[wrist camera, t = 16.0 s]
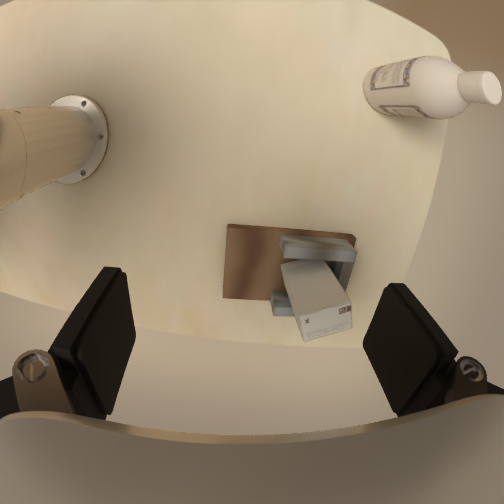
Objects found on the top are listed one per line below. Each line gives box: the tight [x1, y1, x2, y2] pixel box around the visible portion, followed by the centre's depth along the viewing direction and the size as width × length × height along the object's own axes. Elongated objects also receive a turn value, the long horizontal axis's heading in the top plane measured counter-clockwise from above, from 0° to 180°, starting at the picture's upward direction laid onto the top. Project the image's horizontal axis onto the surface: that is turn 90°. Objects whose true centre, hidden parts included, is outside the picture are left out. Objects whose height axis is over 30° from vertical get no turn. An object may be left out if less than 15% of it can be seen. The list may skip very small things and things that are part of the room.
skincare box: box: [281, 259, 352, 342], centre depth 35 cm, size 6×4×12 cm
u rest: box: [223, 224, 357, 316], centre depth 39 cm, size 18×11×6 cm, turn 85°
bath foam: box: [363, 56, 502, 119], centre depth 22 cm, size 7×7×20 cm
